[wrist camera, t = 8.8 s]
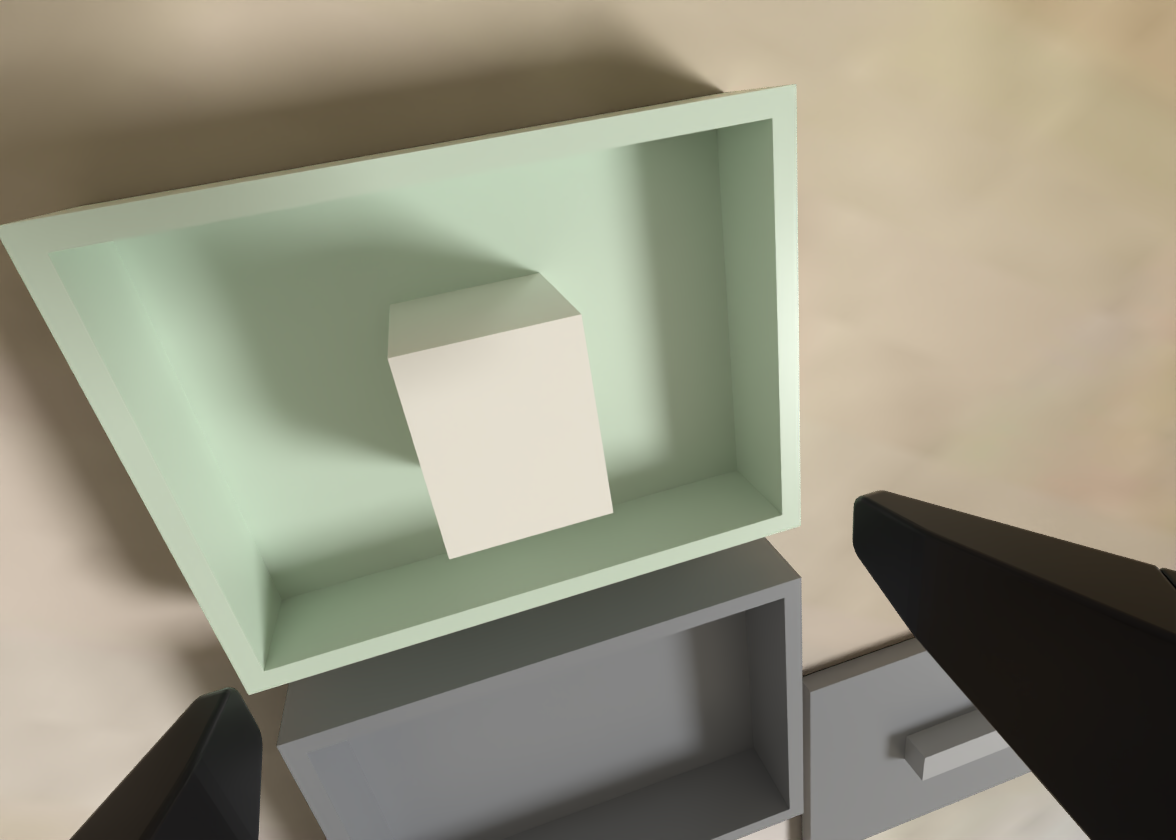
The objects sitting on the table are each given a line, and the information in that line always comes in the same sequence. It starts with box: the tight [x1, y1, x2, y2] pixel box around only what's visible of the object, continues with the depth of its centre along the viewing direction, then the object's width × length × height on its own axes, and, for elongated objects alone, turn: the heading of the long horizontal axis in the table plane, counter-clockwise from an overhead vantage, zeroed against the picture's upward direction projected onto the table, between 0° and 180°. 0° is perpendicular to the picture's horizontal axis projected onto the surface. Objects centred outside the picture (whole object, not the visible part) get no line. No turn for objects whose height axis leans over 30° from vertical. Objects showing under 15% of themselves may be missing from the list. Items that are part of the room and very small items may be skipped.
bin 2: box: [277, 537, 804, 840], centre depth 23 cm, size 16×12×4 cm
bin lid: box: [802, 637, 1031, 840], centre depth 31 cm, size 16×12×2 cm
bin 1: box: [0, 84, 801, 695], centre depth 17 cm, size 16×12×4 cm
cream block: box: [387, 273, 613, 559], centre depth 16 cm, size 4×5×4 cm
